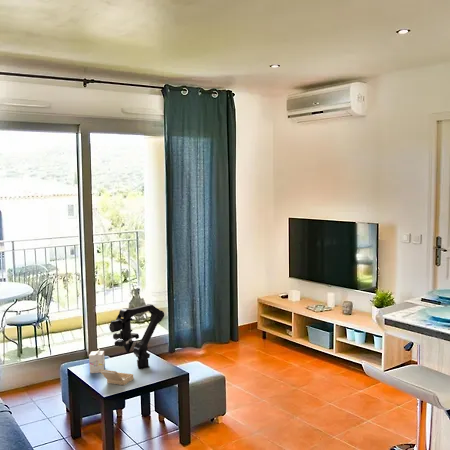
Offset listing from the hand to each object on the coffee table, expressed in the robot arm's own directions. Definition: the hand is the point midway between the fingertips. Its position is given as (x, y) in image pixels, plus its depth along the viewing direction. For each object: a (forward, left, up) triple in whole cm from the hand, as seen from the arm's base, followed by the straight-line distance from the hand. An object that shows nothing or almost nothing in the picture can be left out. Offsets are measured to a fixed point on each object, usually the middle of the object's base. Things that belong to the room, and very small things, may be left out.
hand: (127, 353), depth 316 cm
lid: (+14, +20, -5) cm, 24 cm away
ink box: (+18, -12, -12) cm, 25 cm away
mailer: (+8, +14, -12) cm, 20 cm away
